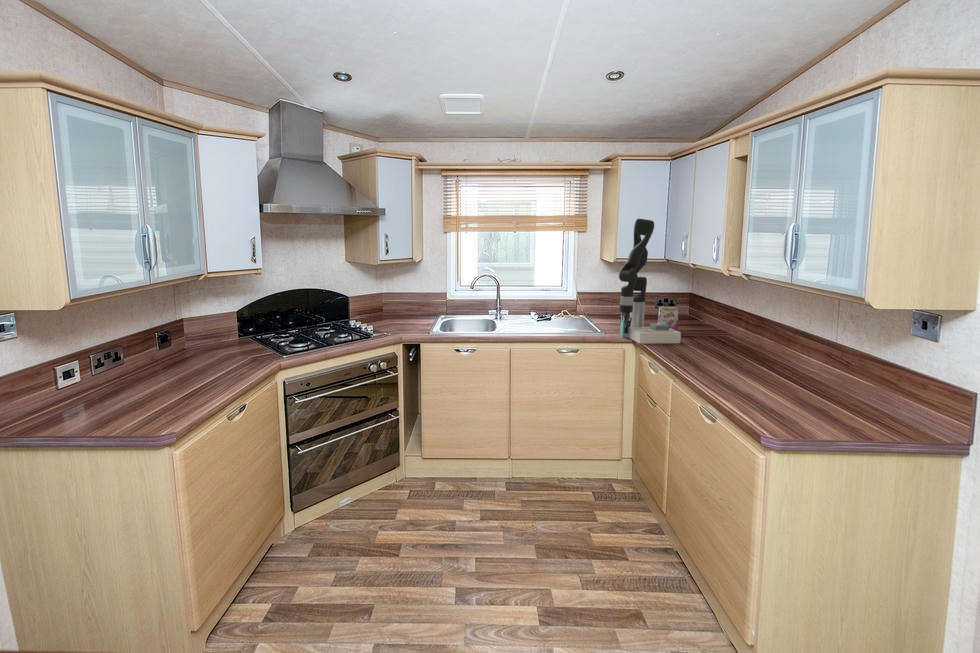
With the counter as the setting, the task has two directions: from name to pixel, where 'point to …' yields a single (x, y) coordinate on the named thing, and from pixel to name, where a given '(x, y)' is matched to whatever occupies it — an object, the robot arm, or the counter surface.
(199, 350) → the counter surface
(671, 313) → the candy bar box
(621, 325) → the plug
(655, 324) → the shutter
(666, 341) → the white tray
